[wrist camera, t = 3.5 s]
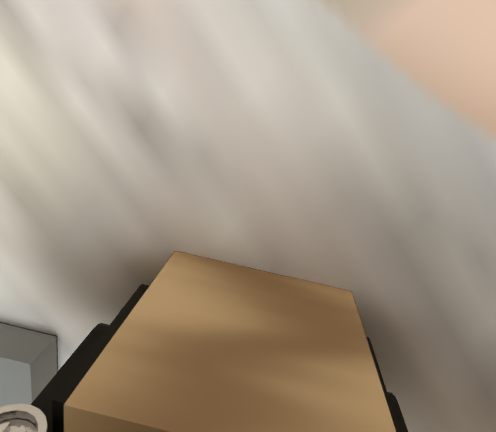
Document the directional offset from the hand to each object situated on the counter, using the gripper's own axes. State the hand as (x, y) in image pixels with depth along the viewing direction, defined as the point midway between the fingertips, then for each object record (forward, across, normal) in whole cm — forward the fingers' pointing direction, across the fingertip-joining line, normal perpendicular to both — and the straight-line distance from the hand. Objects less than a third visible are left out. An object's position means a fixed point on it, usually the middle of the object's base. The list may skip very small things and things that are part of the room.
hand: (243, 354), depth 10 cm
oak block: (+1, 0, 0) cm, 1 cm away
